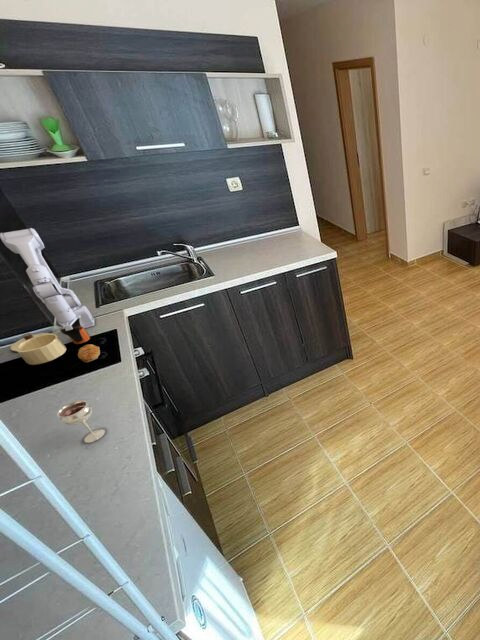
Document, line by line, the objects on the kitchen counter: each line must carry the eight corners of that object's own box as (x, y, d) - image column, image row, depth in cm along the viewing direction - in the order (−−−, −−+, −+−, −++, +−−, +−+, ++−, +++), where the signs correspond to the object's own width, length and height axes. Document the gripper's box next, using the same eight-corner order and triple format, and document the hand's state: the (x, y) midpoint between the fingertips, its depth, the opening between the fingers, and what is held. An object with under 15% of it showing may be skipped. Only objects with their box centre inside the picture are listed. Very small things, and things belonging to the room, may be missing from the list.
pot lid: (54, 331, 155) (48, 323, 153) (52, 344, 147) (46, 335, 144) (14, 342, 148) (7, 334, 146) (10, 356, 140) (2, 347, 138)
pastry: (103, 358, 138) (98, 350, 136) (81, 366, 135) (75, 358, 132) (100, 348, 144) (95, 341, 142) (79, 355, 140) (73, 348, 138)
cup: (90, 335, 152) (83, 324, 149) (90, 340, 149) (83, 330, 146) (74, 339, 149) (66, 329, 146) (73, 345, 146) (66, 335, 143)
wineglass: (93, 446, 103) (70, 419, 97) (74, 443, 104) (50, 416, 98) (114, 428, 109) (93, 401, 102) (96, 425, 110) (74, 398, 103)
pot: (66, 342, 148) (57, 330, 144) (66, 356, 140) (56, 343, 137) (27, 354, 141) (17, 341, 138) (24, 368, 134) (13, 355, 130)
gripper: (73, 313, 138) (92, 340, 146) (74, 300, 148) (91, 326, 155) (49, 319, 134) (69, 347, 142) (51, 305, 144) (70, 332, 151)
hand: (79, 337), depth 148 cm, fingers open, 7 cm apart
